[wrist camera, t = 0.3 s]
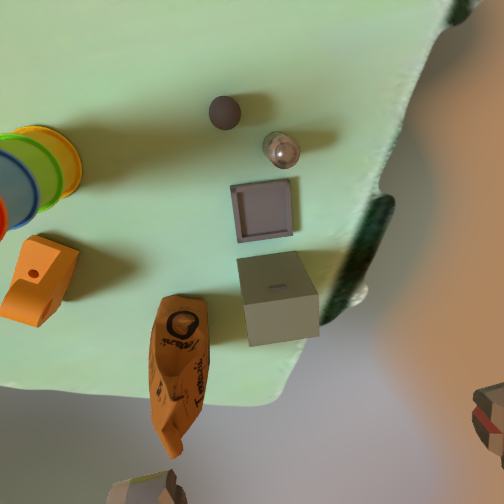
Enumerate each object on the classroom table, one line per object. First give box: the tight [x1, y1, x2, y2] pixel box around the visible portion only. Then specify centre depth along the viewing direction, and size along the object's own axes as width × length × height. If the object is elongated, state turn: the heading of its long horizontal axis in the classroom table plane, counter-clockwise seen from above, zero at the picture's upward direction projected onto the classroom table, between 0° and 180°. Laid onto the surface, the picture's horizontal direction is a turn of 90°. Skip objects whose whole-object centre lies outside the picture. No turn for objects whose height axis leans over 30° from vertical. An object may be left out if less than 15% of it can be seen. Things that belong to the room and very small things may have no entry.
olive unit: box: [237, 251, 319, 347], centre depth 54 cm, size 8×10×14 cm
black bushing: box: [209, 96, 241, 130], centre depth 46 cm, size 4×4×5 cm
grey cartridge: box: [262, 132, 300, 169], centre depth 48 cm, size 4×4×8 cm
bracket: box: [0, 235, 80, 328], centre depth 50 cm, size 11×7×12 cm, turn 152°
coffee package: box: [149, 295, 210, 459], centre depth 52 cm, size 10×12×22 cm
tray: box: [230, 178, 293, 243], centre depth 54 cm, size 9×9×2 cm
